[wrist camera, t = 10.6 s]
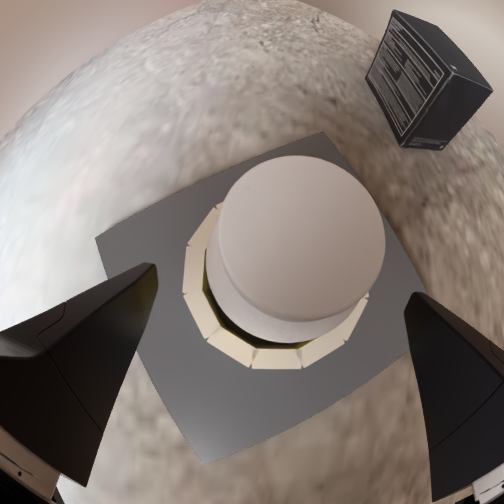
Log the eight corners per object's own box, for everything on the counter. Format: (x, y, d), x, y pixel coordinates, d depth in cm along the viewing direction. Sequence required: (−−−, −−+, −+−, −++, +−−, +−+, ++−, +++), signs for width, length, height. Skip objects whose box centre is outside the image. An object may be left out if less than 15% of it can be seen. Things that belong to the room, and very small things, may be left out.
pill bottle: (211, 258, 18) (164, 165, 8) (298, 229, 19) (350, 119, 8) (242, 350, 17) (231, 385, 6) (332, 316, 17) (438, 293, 7)
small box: (444, 152, 23) (498, 92, 13) (399, 149, 22) (452, 73, 12) (407, 84, 26) (439, 24, 15) (362, 77, 25) (390, 6, 15)
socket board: (204, 458, 15) (192, 493, 11) (100, 241, 19) (67, 218, 15) (433, 322, 18) (474, 317, 13) (320, 138, 22) (334, 98, 17)
